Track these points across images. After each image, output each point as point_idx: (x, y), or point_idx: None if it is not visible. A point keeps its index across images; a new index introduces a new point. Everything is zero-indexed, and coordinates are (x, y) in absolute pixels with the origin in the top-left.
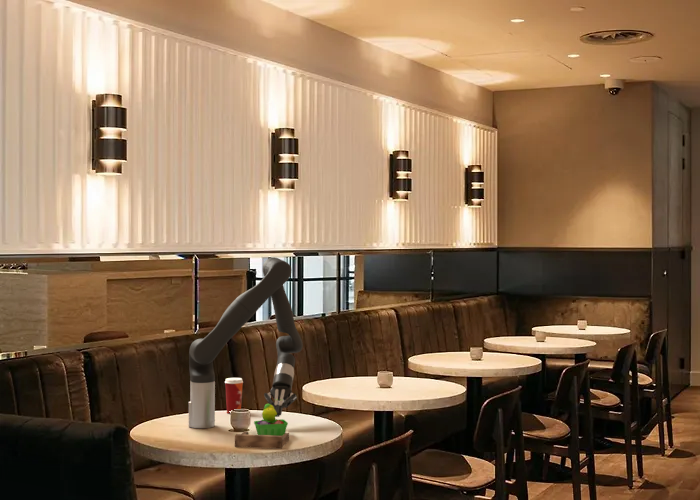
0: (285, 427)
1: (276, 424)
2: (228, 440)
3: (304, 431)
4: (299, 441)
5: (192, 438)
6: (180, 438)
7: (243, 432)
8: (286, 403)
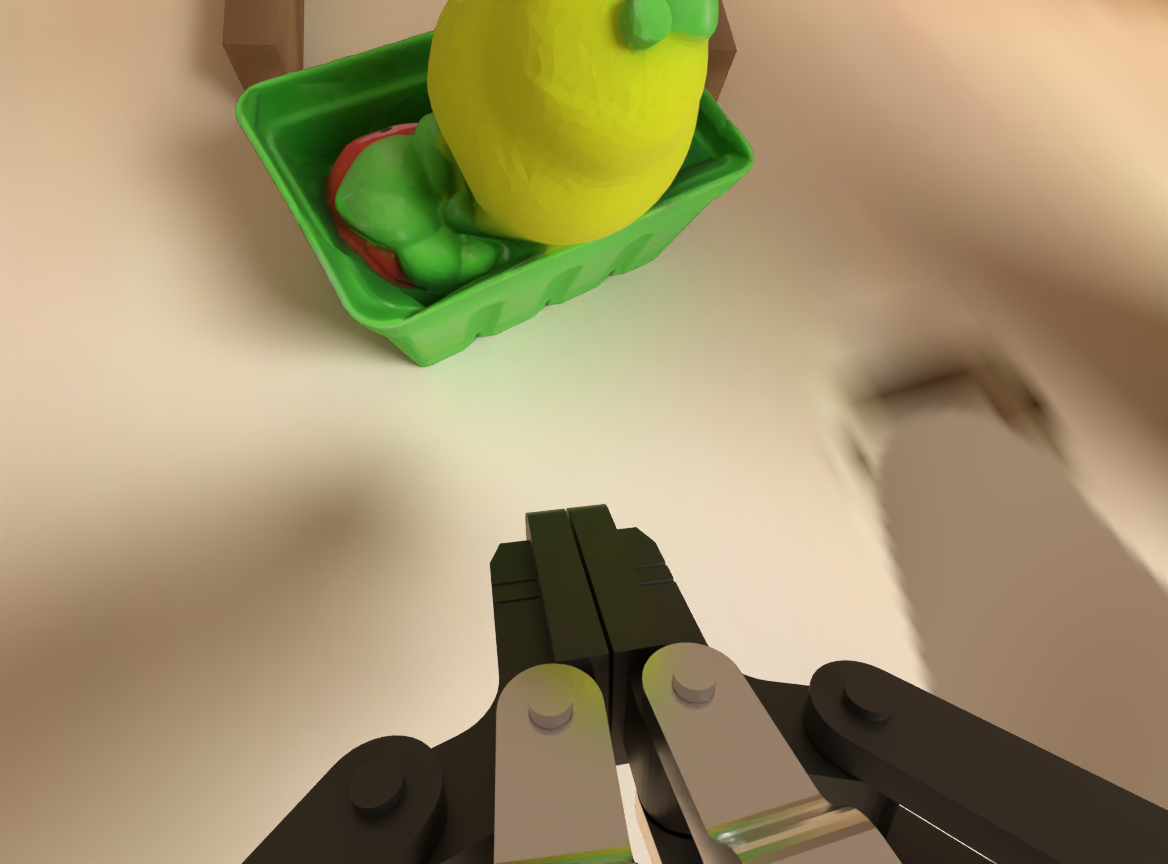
0: (291, 144)
1: (394, 48)
2: (797, 36)
3: (119, 587)
4: (130, 82)
5: (1077, 57)
6: (1147, 47)
7: (721, 14)
8: (330, 777)
